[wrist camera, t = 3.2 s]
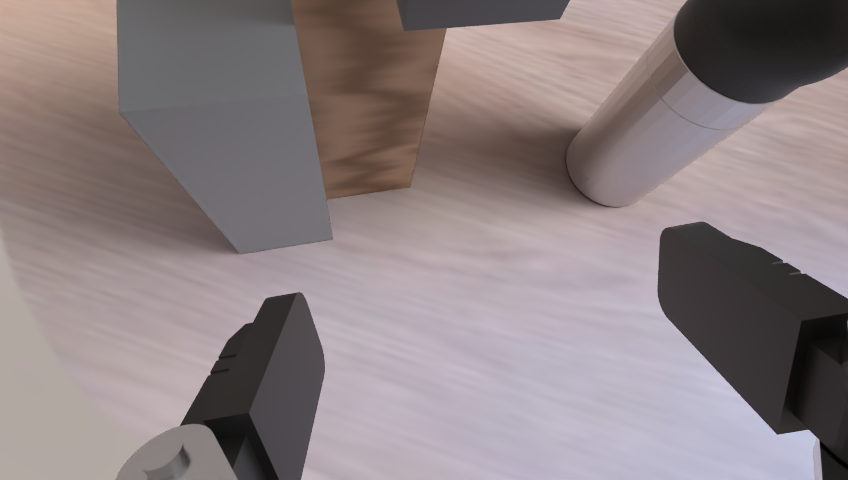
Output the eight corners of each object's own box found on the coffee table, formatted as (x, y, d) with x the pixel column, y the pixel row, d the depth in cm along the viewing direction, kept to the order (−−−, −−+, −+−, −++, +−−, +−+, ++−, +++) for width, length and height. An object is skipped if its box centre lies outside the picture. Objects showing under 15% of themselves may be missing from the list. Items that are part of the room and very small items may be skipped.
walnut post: (389, 99, 46) (441, -440, 16) (409, 187, 44) (516, -276, 14) (310, 108, 45) (209, -470, 15) (326, 199, 42) (237, -292, 12)
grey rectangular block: (316, 143, 44) (280, -64, 24) (332, 239, 41) (306, 93, 21) (230, 153, 42) (115, -58, 23) (240, 254, 39) (118, 112, 20)
